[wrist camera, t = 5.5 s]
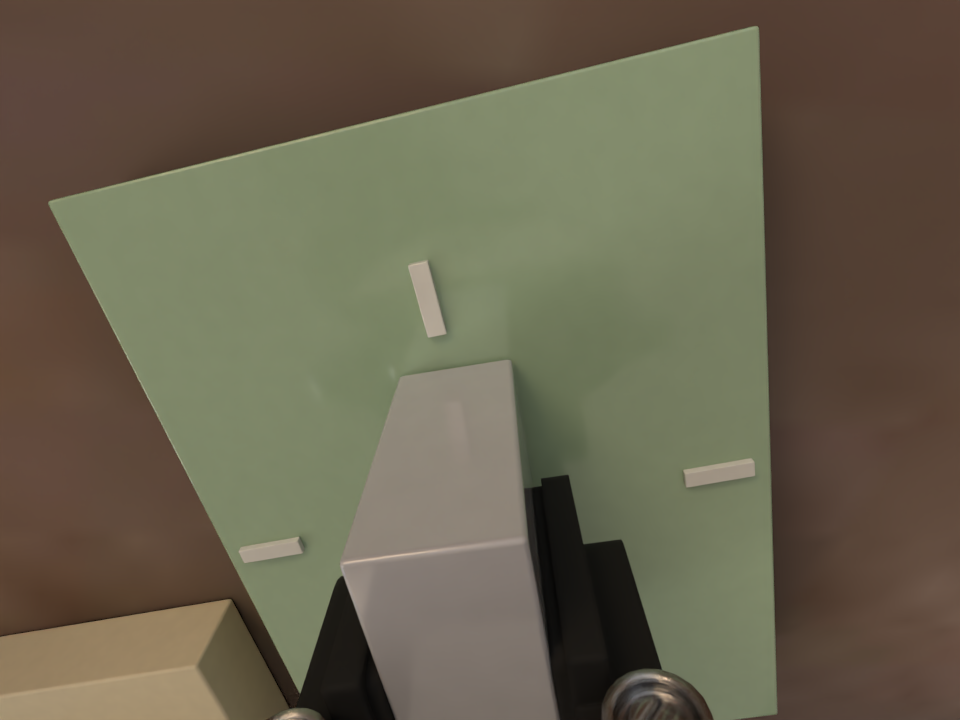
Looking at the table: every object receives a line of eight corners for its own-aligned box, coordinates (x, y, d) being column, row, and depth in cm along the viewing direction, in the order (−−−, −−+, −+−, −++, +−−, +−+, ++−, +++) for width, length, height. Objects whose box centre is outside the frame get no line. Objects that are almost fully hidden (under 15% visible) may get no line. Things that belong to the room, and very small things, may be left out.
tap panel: (113, 186, 12) (38, 202, 10) (713, 37, 11) (765, 22, 9) (354, 704, 18) (337, 777, 16) (746, 648, 17) (781, 721, 15)
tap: (398, 375, 11) (330, 579, 6) (511, 356, 11) (529, 554, 6) (466, 634, 14) (455, 913, 9) (557, 622, 14) (594, 901, 9)
